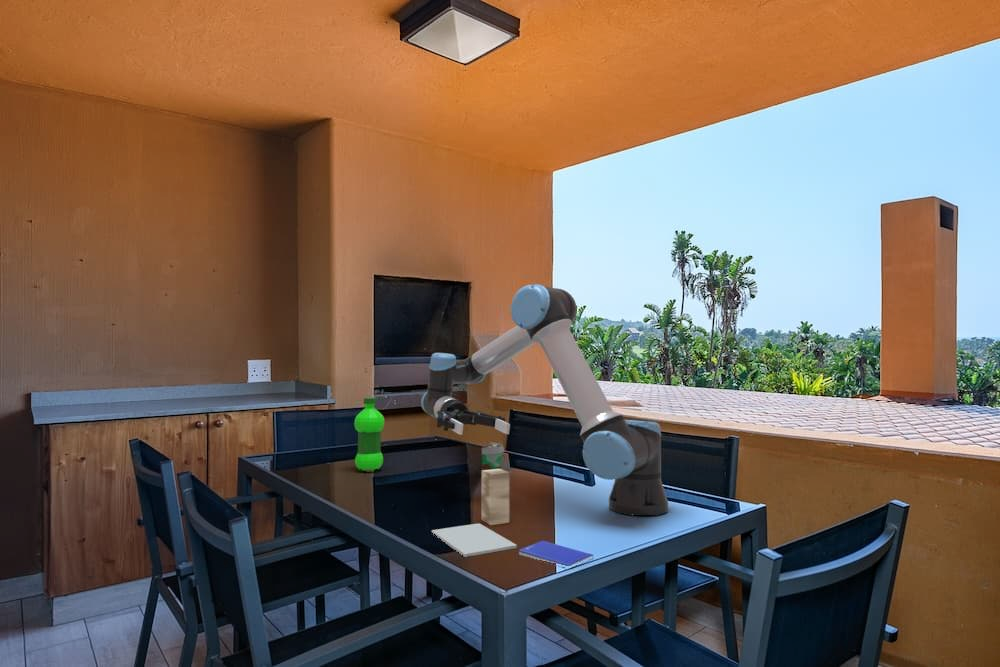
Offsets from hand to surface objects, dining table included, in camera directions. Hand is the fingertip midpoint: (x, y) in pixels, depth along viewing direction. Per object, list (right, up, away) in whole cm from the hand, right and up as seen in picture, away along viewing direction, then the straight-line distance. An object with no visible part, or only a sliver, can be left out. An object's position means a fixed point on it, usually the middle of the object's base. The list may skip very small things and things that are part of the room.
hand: (485, 429), depth 152 cm
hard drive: (+15, -21, -33) cm, 42 cm away
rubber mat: (-2, -20, -23) cm, 31 cm away
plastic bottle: (-41, -23, +52) cm, 71 cm away
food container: (+2, -23, +46) cm, 51 cm away
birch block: (+3, -21, -8) cm, 23 cm away
